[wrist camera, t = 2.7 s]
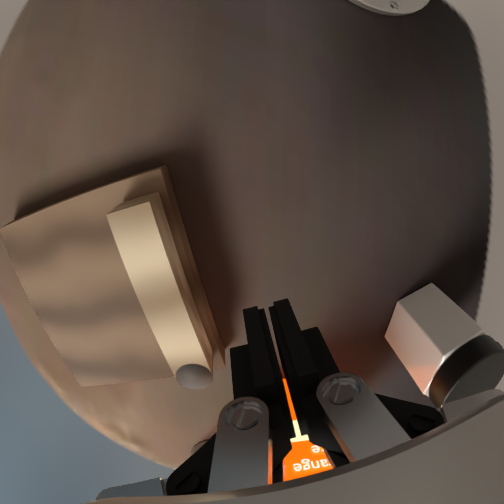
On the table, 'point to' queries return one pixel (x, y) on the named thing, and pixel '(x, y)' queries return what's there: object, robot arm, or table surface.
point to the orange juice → (303, 452)
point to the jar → (443, 347)
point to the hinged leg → (162, 288)
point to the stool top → (99, 282)
